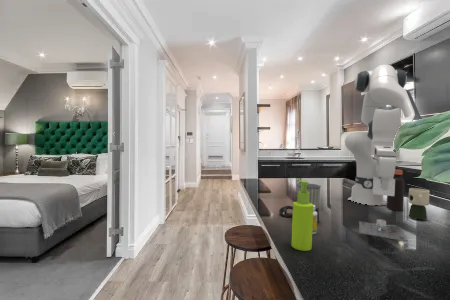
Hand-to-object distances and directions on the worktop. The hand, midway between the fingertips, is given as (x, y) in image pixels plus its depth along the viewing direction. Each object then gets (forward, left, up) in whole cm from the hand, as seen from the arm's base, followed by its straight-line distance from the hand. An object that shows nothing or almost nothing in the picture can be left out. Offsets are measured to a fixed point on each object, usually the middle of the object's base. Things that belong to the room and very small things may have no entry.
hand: (383, 188), depth 90 cm
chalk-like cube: (0, 0, -2) cm, 2 cm away
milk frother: (+2, -30, -16) cm, 34 cm away
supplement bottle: (+16, -23, -16) cm, 32 cm away
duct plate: (0, 0, -16) cm, 16 cm away
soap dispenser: (+30, -23, -16) cm, 41 cm away
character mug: (-28, +16, -16) cm, 36 cm away
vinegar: (-42, +9, -16) cm, 46 cm away
